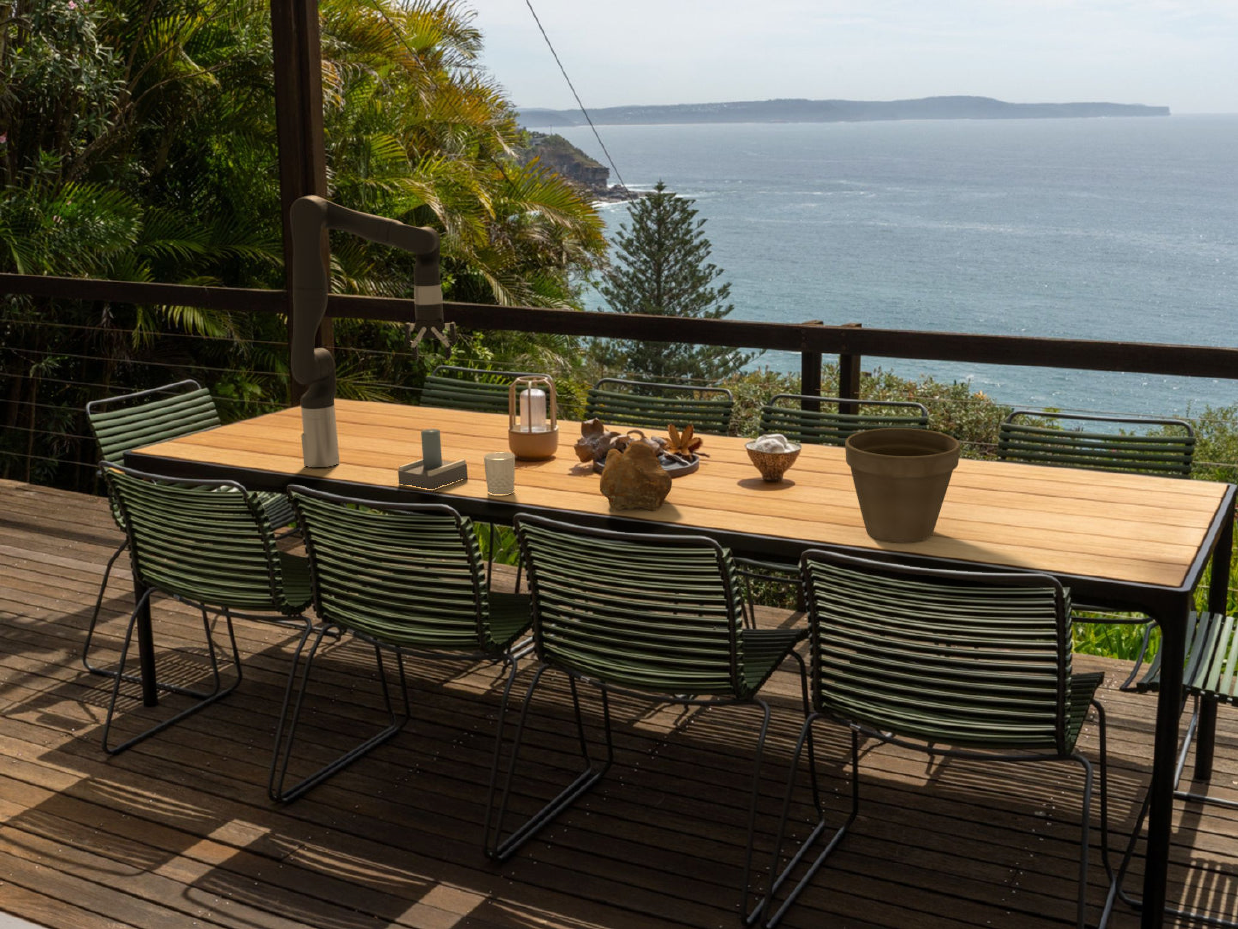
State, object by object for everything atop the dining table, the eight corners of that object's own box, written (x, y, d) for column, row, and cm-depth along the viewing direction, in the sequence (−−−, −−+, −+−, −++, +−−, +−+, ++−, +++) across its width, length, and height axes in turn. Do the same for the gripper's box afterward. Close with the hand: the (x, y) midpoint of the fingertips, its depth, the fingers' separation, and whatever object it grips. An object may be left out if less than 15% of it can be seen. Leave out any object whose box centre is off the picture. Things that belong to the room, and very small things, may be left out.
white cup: (492, 499, 304) (490, 461, 302) (481, 491, 311) (479, 454, 309) (521, 494, 308) (519, 456, 305) (509, 487, 315) (507, 450, 312)
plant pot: (921, 559, 253) (926, 460, 247) (822, 537, 269) (823, 443, 263) (975, 530, 271) (980, 437, 265) (878, 510, 287) (881, 422, 281)
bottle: (421, 469, 318) (419, 433, 316) (425, 465, 323) (423, 429, 320) (440, 469, 318) (437, 433, 315) (444, 464, 323) (441, 428, 320)
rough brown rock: (653, 525, 283) (658, 464, 279) (589, 512, 289) (593, 453, 285) (685, 501, 304) (690, 444, 300) (625, 490, 310) (629, 434, 306)
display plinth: (432, 491, 313) (431, 472, 311) (399, 485, 319) (397, 466, 318) (467, 478, 324) (466, 459, 322) (434, 472, 330) (433, 454, 329)
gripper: (399, 303, 323) (403, 363, 327) (451, 303, 322) (455, 362, 326) (405, 300, 330) (409, 358, 334) (456, 299, 329) (460, 357, 333)
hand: (432, 360), depth 330 cm, fingers open, 8 cm apart
